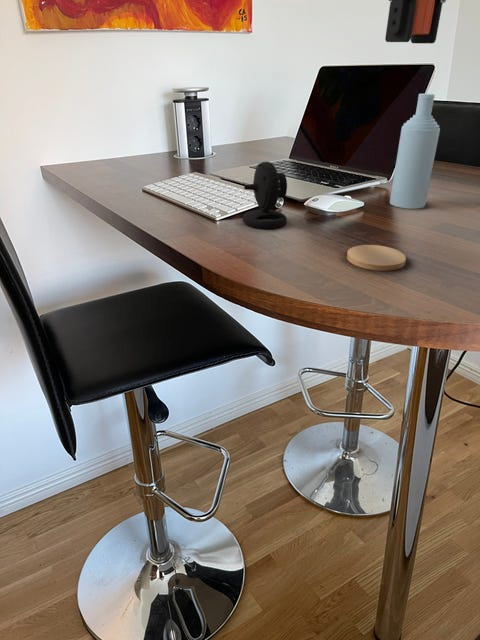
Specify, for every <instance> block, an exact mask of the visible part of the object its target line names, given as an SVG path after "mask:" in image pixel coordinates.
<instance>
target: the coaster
mask: <svg viewBox="0 0 480 640" xmlns="http://www.w3.org/2000/svg"><path fill="white" fill-rule="evenodd" d="M346 259H347V261H348V262H349V263H350V264H352V265H354V266H356V267H357V268H362V269H366V270H369V271H370V270H371V271H377V272H378V271H381V272H387V271H388V272H390V271H396V270H399V269H402V268H403V267H404V266H405V265H406V262H407V261H406V260H407V257H406V255H405V254H404V253H403V252H401V251H400V250H398V249H396V248H392V247H389V246H384V245H377V244H362V245H360V244H359V245H355V246H352V247H350V248H348V249H347V254H346Z"/></svg>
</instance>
